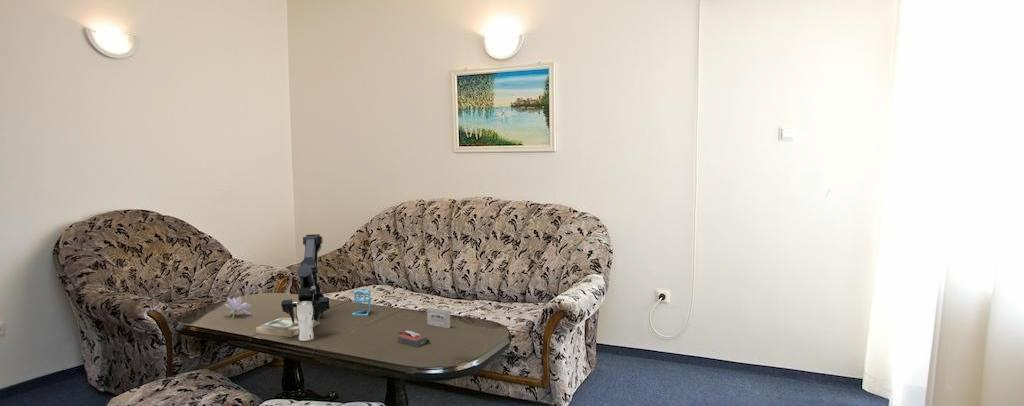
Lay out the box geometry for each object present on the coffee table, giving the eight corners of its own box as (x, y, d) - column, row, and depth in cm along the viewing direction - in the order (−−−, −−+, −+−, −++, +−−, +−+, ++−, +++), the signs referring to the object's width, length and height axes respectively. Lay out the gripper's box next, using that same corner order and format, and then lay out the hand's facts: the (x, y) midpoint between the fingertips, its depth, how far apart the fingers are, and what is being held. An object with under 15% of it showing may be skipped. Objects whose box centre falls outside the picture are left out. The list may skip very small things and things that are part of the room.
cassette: (451, 327, 255) (450, 310, 255) (448, 328, 254) (448, 311, 253) (429, 323, 261) (428, 306, 261) (426, 324, 260) (426, 307, 259)
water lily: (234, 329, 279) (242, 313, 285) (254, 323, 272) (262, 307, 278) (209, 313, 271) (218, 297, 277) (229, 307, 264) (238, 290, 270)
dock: (286, 321, 268) (285, 313, 267) (319, 324, 262) (319, 316, 262) (256, 333, 250) (255, 324, 250) (291, 337, 244) (290, 328, 244)
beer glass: (309, 341, 238) (307, 305, 237) (293, 340, 239) (292, 304, 238) (318, 336, 245) (316, 301, 244) (303, 335, 246) (301, 300, 245)
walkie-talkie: (434, 343, 236) (401, 333, 248) (434, 332, 235) (400, 323, 248) (417, 349, 229) (384, 339, 241) (417, 338, 228) (384, 328, 241)
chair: (374, 311, 282) (373, 287, 281) (367, 316, 274) (366, 291, 273) (359, 311, 283) (358, 286, 282) (351, 315, 275) (350, 290, 274)
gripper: (280, 280, 242) (278, 314, 232) (328, 278, 246) (327, 310, 236) (284, 295, 250) (281, 328, 240) (330, 292, 254) (329, 324, 245)
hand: (305, 322), depth 240 cm, fingers open, 9 cm apart
